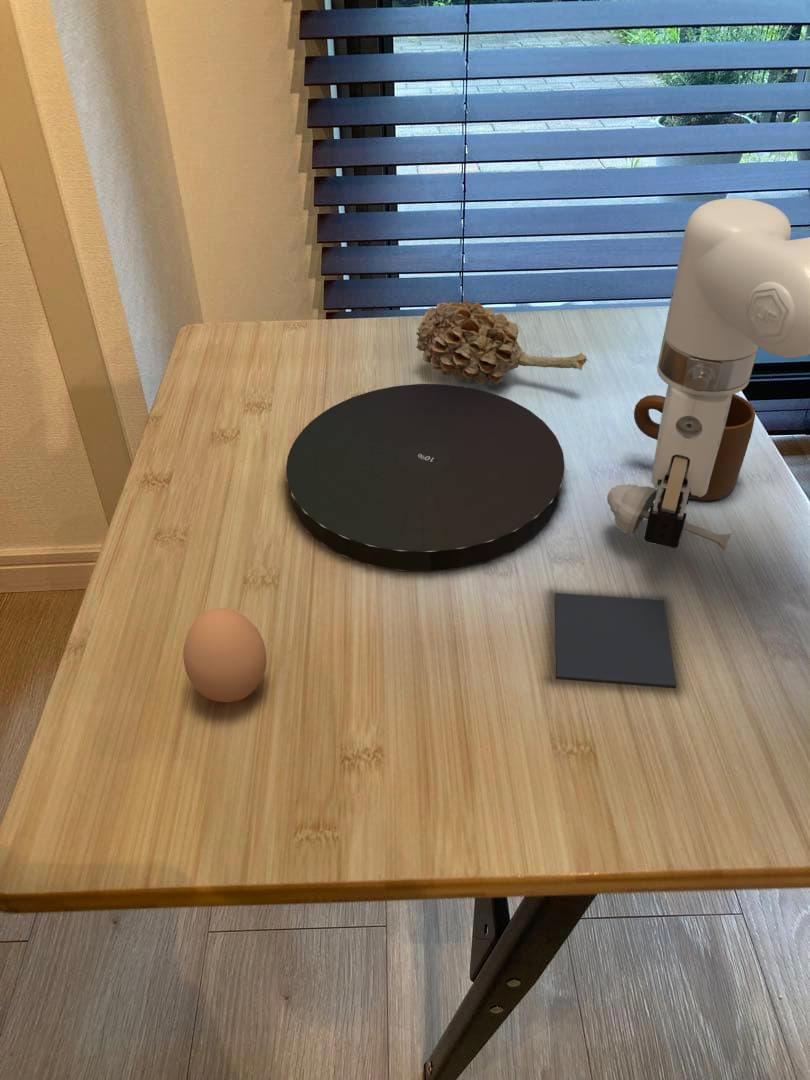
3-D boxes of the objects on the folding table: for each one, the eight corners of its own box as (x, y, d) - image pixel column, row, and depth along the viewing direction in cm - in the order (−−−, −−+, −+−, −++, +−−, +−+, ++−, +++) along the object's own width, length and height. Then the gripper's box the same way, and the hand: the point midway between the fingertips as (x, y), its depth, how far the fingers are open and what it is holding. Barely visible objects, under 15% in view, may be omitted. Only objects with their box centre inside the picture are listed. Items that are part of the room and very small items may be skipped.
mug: (614, 480, 92) (627, 407, 86) (634, 443, 97) (647, 372, 91) (726, 511, 88) (749, 436, 82) (741, 471, 93) (763, 398, 87)
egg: (288, 689, 72) (274, 616, 66) (224, 735, 69) (203, 663, 63) (242, 647, 76) (225, 574, 70) (179, 689, 72) (155, 617, 66)
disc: (243, 541, 86) (238, 519, 84) (344, 389, 107) (342, 368, 105) (533, 599, 79) (535, 576, 77) (580, 424, 100) (583, 402, 98)
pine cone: (407, 390, 107) (405, 318, 100) (426, 353, 114) (426, 283, 107) (582, 414, 102) (592, 340, 95) (591, 374, 109) (602, 302, 102)
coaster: (663, 602, 79) (663, 600, 78) (675, 687, 71) (676, 685, 71) (554, 595, 80) (555, 592, 79) (556, 678, 72) (556, 676, 72)
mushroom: (733, 536, 76) (607, 485, 79) (712, 578, 78) (591, 526, 82) (742, 507, 81) (624, 460, 85) (722, 547, 84) (608, 500, 87)
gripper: (743, 422, 63) (693, 590, 75) (762, 318, 75) (716, 478, 87) (642, 403, 65) (609, 569, 78) (675, 305, 77) (643, 463, 89)
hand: (666, 520), depth 82 cm, fingers closed on mushroom, 5 cm apart
